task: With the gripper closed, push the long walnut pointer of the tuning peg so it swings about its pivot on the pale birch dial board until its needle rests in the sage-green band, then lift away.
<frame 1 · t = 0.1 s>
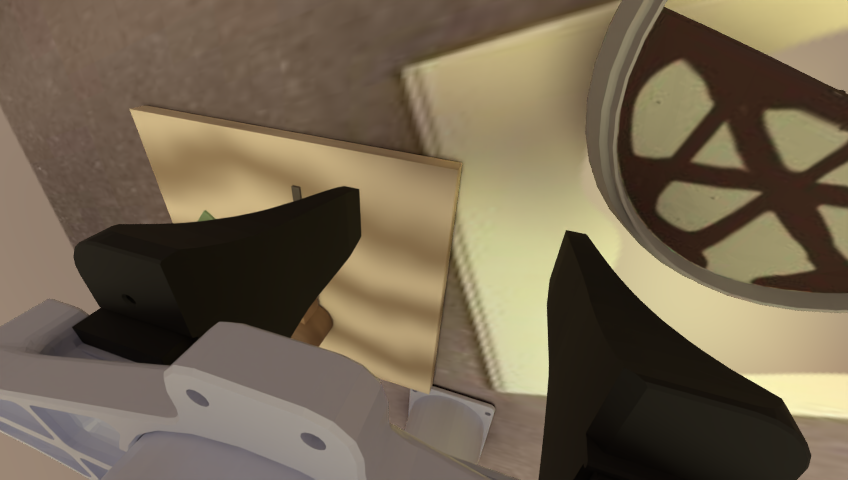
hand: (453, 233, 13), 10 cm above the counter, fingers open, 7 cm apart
dial board: (306, 261, 30), on the counter
food container: (675, 119, 18), on the counter
tuning peg: (296, 289, 28), point 3 cm above the counter, hinge at 0.0°
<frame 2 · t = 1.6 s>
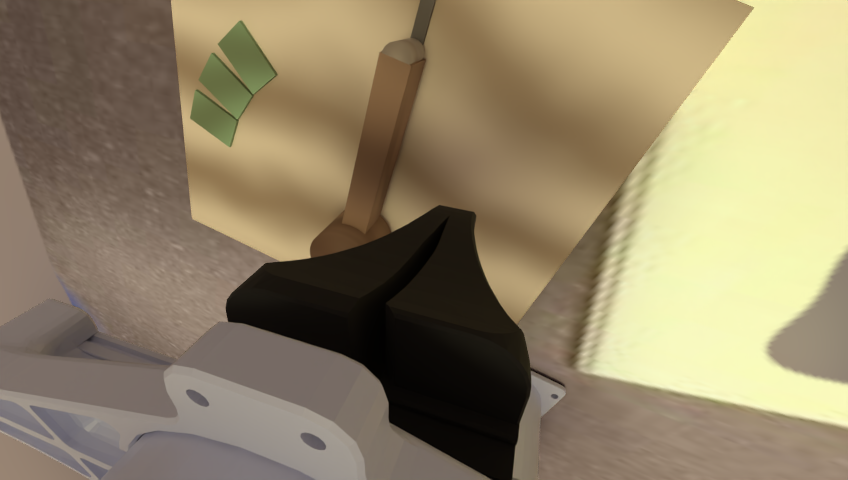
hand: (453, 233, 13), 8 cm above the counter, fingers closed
dial board: (377, 145, 21), on the counter
tuning peg: (369, 178, 18), point 3 cm above the counter, hinge at 0.0°
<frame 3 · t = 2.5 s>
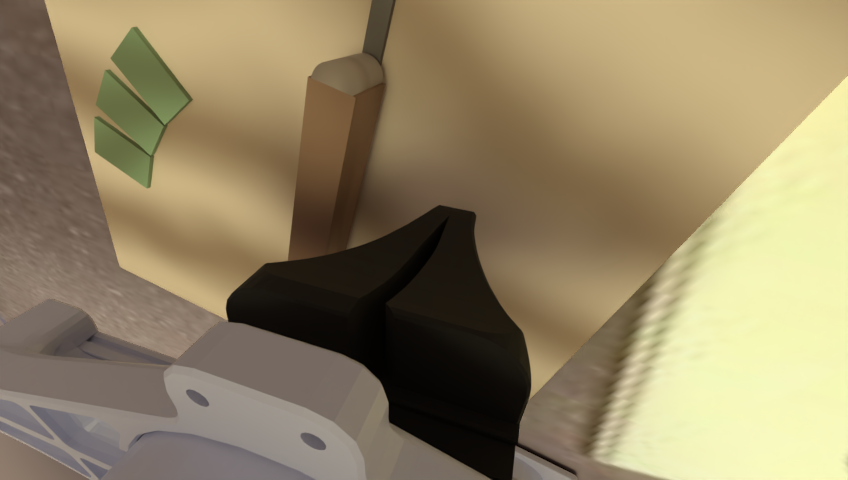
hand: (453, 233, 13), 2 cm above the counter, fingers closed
dial board: (333, 189, 16), on the counter
tuning peg: (316, 241, 13), point 3 cm above the counter, hinge at 0.0°
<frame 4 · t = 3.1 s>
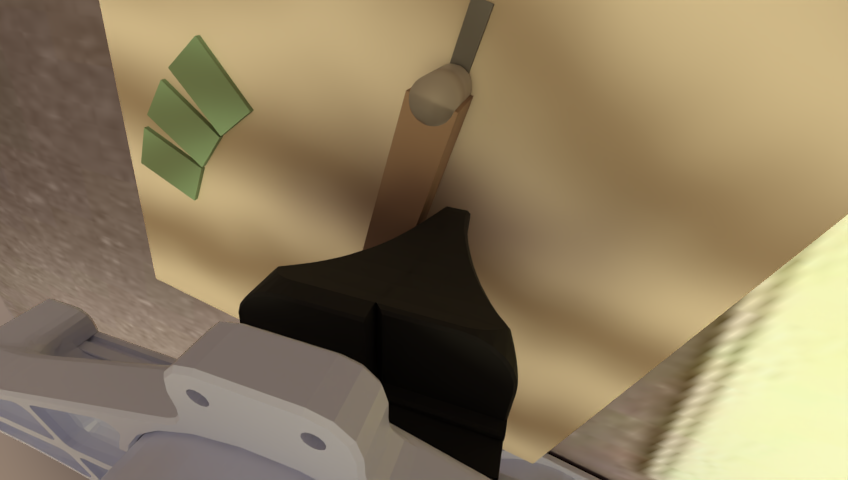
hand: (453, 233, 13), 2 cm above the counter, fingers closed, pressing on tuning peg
dial board: (392, 202, 15), on the counter
tuning peg: (384, 259, 13), point 3 cm above the counter, hinge at 0.0°, touching gripper
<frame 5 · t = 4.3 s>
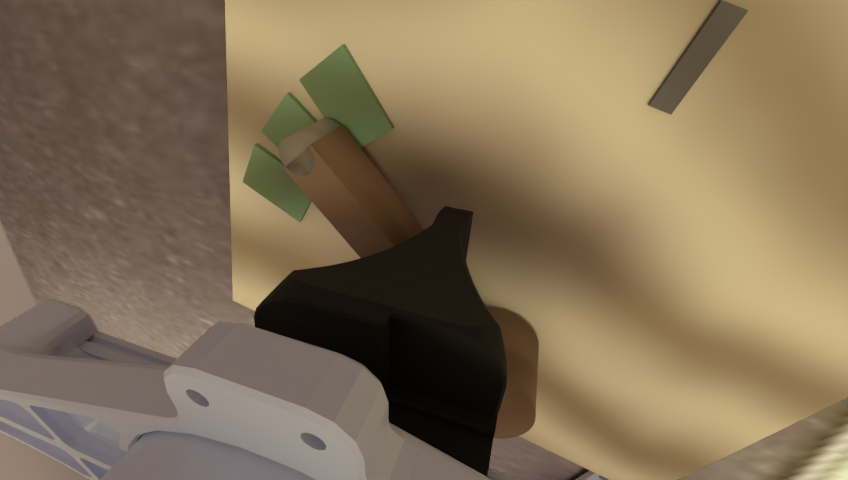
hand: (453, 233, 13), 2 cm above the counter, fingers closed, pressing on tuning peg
dial board: (530, 225, 14), on the counter
tuning peg: (419, 286, 13), point 3 cm above the counter, hinge at 56.0°, touching gripper
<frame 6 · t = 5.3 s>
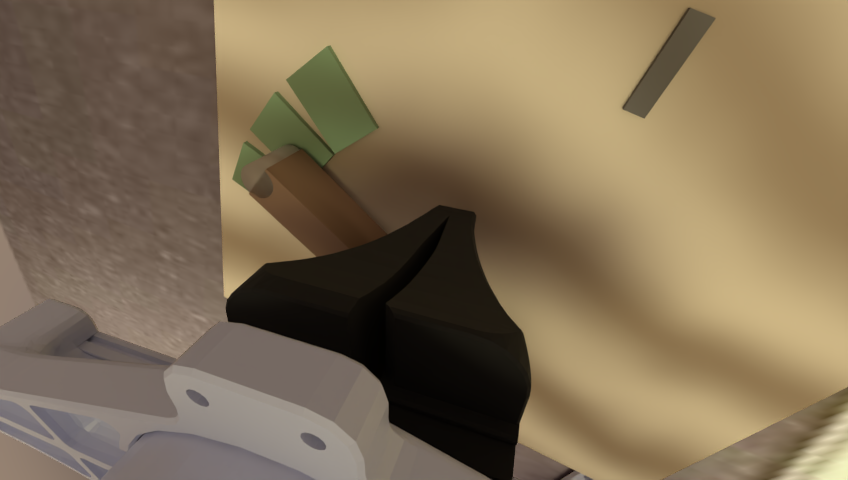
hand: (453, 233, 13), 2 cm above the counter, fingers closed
dial board: (513, 225, 14), on the counter
tuning peg: (389, 290, 14), point 3 cm above the counter, hinge at 64.5°
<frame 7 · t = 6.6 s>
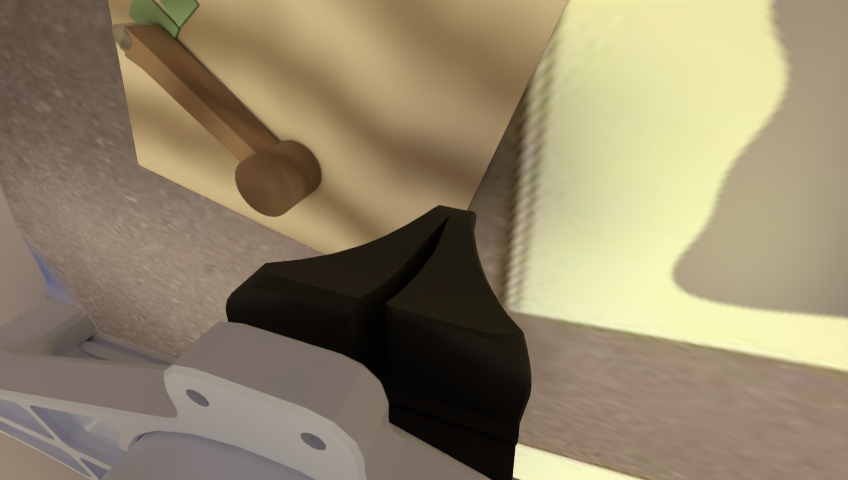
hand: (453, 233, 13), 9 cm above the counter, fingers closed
dial board: (302, 79, 21), on the counter
tuning peg: (218, 118, 21), point 3 cm above the counter, hinge at 64.5°
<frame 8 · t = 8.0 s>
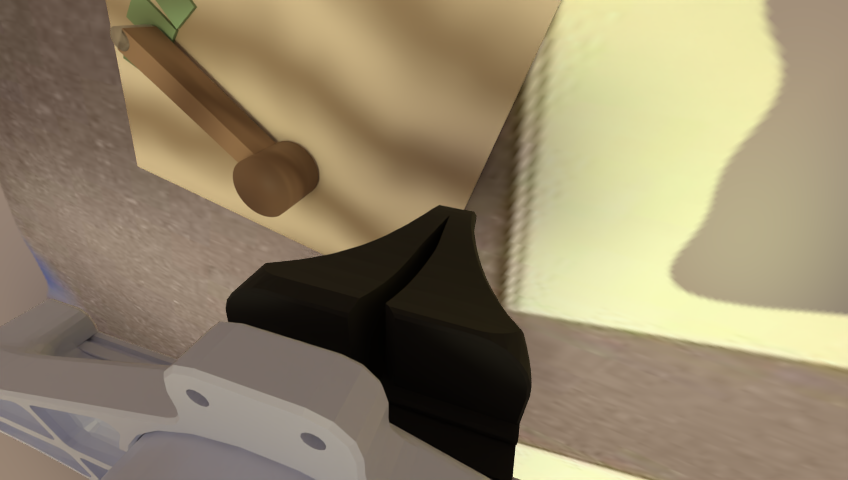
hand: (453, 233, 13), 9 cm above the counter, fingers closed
dial board: (299, 80, 21), on the counter
tuning peg: (215, 119, 21), point 3 cm above the counter, hinge at 64.5°
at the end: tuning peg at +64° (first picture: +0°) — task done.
